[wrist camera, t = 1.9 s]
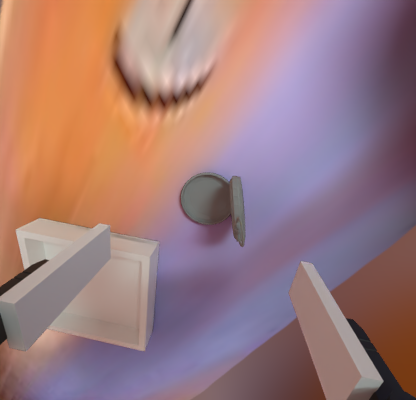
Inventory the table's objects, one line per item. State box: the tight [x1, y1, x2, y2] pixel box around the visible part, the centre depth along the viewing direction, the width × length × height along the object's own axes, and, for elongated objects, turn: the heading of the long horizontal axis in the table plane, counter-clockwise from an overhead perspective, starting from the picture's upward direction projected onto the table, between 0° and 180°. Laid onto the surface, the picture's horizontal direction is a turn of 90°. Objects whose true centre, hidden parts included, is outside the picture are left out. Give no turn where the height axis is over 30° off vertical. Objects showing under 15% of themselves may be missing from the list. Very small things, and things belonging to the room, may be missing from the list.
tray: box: [16, 218, 159, 351], centre depth 31 cm, size 18×18×4 cm
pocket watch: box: [181, 173, 245, 247], centre depth 21 cm, size 8×8×10 cm
